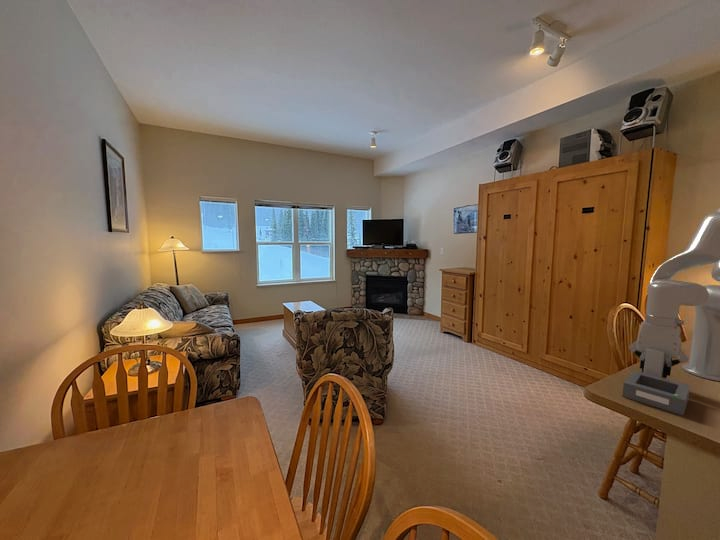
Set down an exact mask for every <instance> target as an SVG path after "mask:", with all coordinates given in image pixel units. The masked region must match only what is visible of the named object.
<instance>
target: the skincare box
mask: <svg viewBox="0 0 720 540" xmlns="http://www.w3.org/2000/svg"><path fill="white" fill-rule="evenodd" d="M665 364H666V359H665V357H664V352H661V351H657V350H652V349H647V350H646V357H645V365H644V373H645V374H649V375H653V376H656V377H660V378H664V377H663V373H664V366H665ZM664 379H666V378H664Z"/></svg>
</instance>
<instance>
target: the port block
mask: <svg viewBox="0 0 720 540" xmlns="http://www.w3.org/2000/svg"><path fill="white" fill-rule="evenodd" d="M690 389H691V385H690V384H686V383H682V382H679V381H676V380H675V381H674V380H672V379H667V378H665V379H664V378H660V377H656V376H653V375H649V374H645V373H643V372H642V371H641V372H640V371H638V370H633V371H631V373H630V374H629V375H628V376H627V378H626V379H625V380H624V382H623V388H622V394H621V395H622V397H623V398H626V399H628V400H631V401H636V402H638V403H642V404H644V405H648V406H651V407H654V408H657V409H661V410H663V411H667V412H670V413H672V414H676V415H679V416H684V414H685V412H686V408H687V405H688V402H689V398H690V397H689V396H690Z"/></svg>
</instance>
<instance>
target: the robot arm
mask: <svg viewBox="0 0 720 540" xmlns="http://www.w3.org/2000/svg"><path fill="white" fill-rule="evenodd" d="M711 264H713V266H712V268H711V269H712V270H711V271H710V273H711V275H710V276H711V278H712V279H713V280H715V281H716V282H718V283H720V207H718V208H717V209H716V210H715V212H712V213H709V214H706V215H705V216H704V217H703V218H702V219H701V221H700V223H699V225H698V226H697V228H696V229H695V231H694V233H693V235H692V237H691V239H690V240H689V242H688V244H687V246H686V248H685V250H684V251H682V252H680V253H678V254H676V255H674V256H671V257H670V258H669V259H667V260H666V261H664V262H663V263H662V264H661V263H660V265H659V266H658V267H657V268H656V269H655V271H654V273H653V274H652V276H651V278H650V280H649V282H648V284H647V288H646V291H647V301H646V309H645V318H644V320H643V321H641V324H640V327H639V330H638V335H637V339H636V341H634V342H632V343H631V344H630V345H628V347H627V348H628V349H629V350H630V351H631V352H632V353H634V354H635V355H636V356H637V357H638V358H639V361H640V362H639V363H640V364H639V369H641V373H644V365H645V357H646V350H647V349H652V350H657V351H661V352H664V357H665V359H666V364H665V366H664V373H663V377H664V378H665V379H667V377H671V371H672V367H674V366H677V365H678V364H682V363H683V364H682V367H681V368H682V369H683V371H685V372H687V373H689V374H691V375H693V376H696V377H700V378H703V379H707V380H712V381H718V382H720V285H719V284H718V285H717V284H707V285H702V284H700V283H697V282H690V281H682V280H676V279H672V278H673V277H674V276H675V275H677V274H680V273H681V272H683V271H686V270H689V269H693V268H699V267H701V266H707V265H711ZM680 306H686V307H694V308H695V309H694V311H695V314H694V315H695V316H694V317H695V318H694V325H693V332H692V340H691V341H692V342H691V348H690V355H689V358H688V356H687V354H686V353H685V352H684V351H683V349H682V348H681V347H682V330H681V327H680V325H685V320H682V319H680V318H679V315H680V314H679V312H680ZM678 357H679V358H678ZM688 361H689V362H688Z"/></svg>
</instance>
